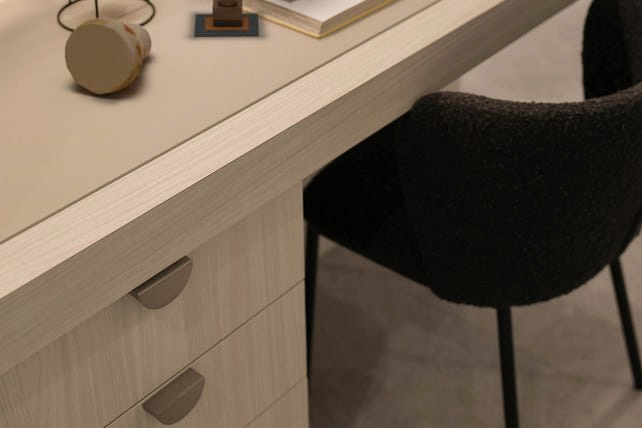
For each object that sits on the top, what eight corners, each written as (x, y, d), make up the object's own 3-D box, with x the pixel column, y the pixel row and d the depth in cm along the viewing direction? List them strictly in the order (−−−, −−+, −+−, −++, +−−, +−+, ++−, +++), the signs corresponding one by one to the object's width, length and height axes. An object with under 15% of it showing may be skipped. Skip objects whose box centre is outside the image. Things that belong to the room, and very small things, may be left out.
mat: (194, 39, 94) (194, 34, 93) (195, 17, 98) (195, 13, 98) (259, 38, 94) (258, 34, 94) (257, 16, 99) (257, 12, 98)
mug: (172, 55, 91) (166, -2, 82) (128, 129, 87) (116, 78, 78) (108, 28, 91) (94, -32, 82) (62, 100, 88) (42, 46, 79)
